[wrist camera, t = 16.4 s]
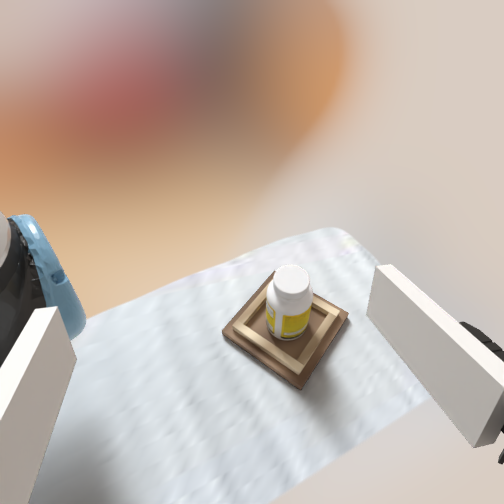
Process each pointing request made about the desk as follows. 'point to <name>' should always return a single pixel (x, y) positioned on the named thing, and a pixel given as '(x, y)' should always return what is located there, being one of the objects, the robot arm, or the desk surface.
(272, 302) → the supplement bottle
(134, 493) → the desk surface
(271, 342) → the walnut board
